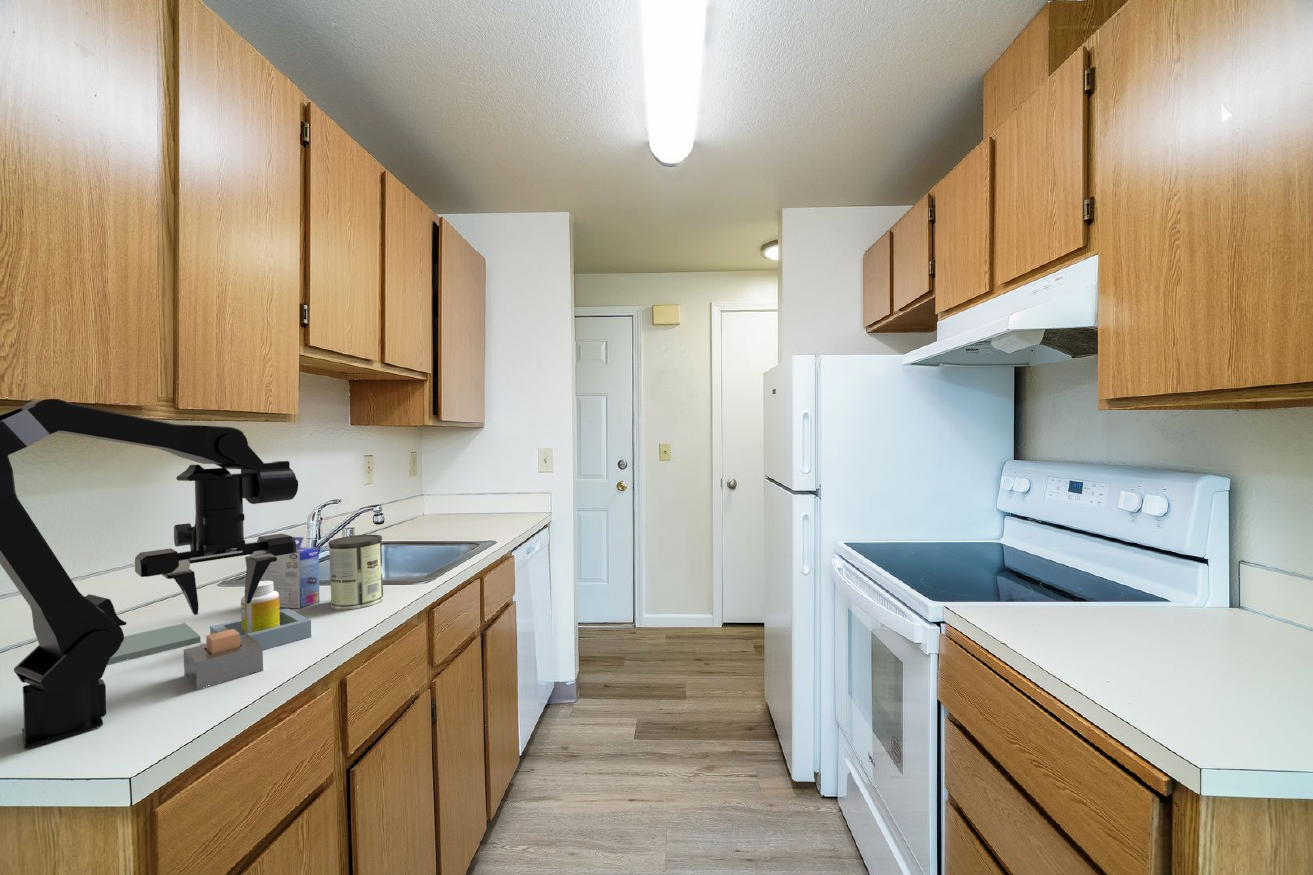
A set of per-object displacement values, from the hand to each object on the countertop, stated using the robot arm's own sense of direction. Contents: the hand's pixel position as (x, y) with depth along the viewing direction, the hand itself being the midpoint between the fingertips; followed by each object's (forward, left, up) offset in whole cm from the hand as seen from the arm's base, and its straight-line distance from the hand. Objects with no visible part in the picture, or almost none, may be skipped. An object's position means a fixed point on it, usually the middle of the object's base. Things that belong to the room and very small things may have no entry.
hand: (222, 608), depth 83 cm
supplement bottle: (+8, +12, -10) cm, 18 cm away
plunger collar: (0, 0, -10) cm, 10 cm away
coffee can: (+28, +21, -10) cm, 36 cm away
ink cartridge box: (+19, +32, -10) cm, 39 cm away
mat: (-5, +26, -10) cm, 28 cm away
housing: (+8, +12, -10) cm, 18 cm away
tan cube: (0, 0, -7) cm, 7 cm away
